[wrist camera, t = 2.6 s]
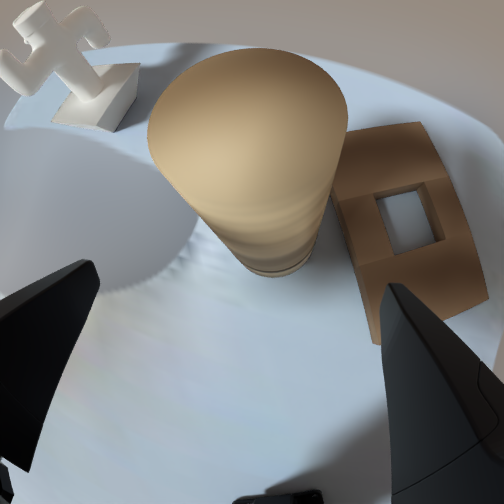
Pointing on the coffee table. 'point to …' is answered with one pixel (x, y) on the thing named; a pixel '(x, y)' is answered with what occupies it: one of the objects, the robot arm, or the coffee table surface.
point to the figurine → (71, 68)
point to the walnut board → (374, 232)
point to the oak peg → (253, 151)
